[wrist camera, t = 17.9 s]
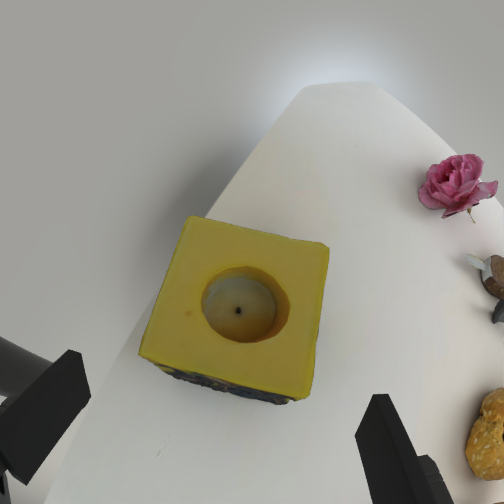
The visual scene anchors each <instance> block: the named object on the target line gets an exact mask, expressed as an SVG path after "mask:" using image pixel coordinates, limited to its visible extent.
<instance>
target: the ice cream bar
mask: <svg viewBox="0 0 504 504" xmlns="http://www.w3.org/2000/svg"><path fill="white" fill-rule="evenodd" d="M466 259H467V261H468V262H469V263H470V264H471V265H472V266H473V267H476V268H478V269H481V277H482V283H483V285H484V287H485V288H486V290H487V291H488V292H490V293H491V294H492V295H494V296H496V297H498V298H500V299H502V300H504V258H503V257H501V256H498V255H493V256H491V257H490V258H488V259H487V260H486V261H485V262H483V261H481V260H480V259H479V258H477V257H476V256H473V255H471V254H467V255H466Z"/></svg>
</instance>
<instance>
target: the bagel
mask: <svg viewBox="0 0 504 504" xmlns="http://www.w3.org/2000/svg"><path fill="white" fill-rule="evenodd" d="M480 415H481V416H480V417H479V419H477V420H476V422H475V423H474V426H473V427H472V428H471V432H470V437H469V440H468V441H467V447H466V451H465V454H466V456H467V460H468V462H469V465H470V467H471V468H472V470H473V472H474V473H475V476H477V477H479V478H481V479H484V480H486V481H490V480H501V479H504V388H497V389H496V390H494V391H492V392H491V393H490V394H489V395H488V396H486V397H485V398H484V400H483V402H482V406H481V409H480Z"/></svg>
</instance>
